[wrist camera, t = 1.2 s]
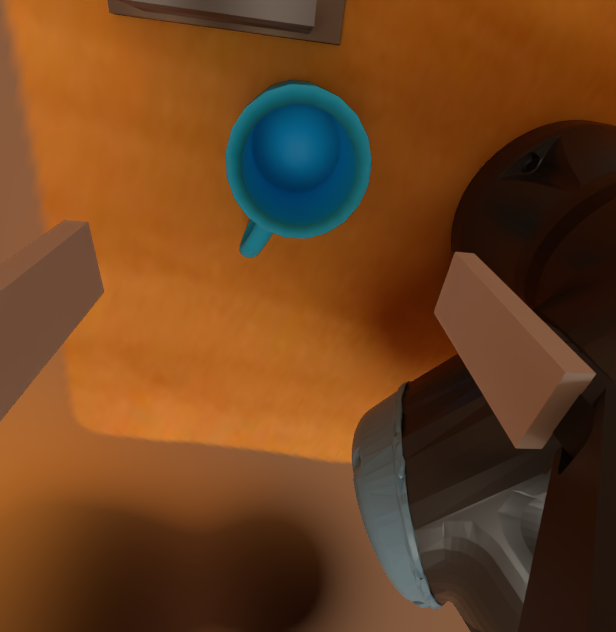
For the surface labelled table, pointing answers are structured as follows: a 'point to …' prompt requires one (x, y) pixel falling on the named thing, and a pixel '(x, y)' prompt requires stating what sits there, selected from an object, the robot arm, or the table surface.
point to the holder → (246, 16)
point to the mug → (296, 163)
